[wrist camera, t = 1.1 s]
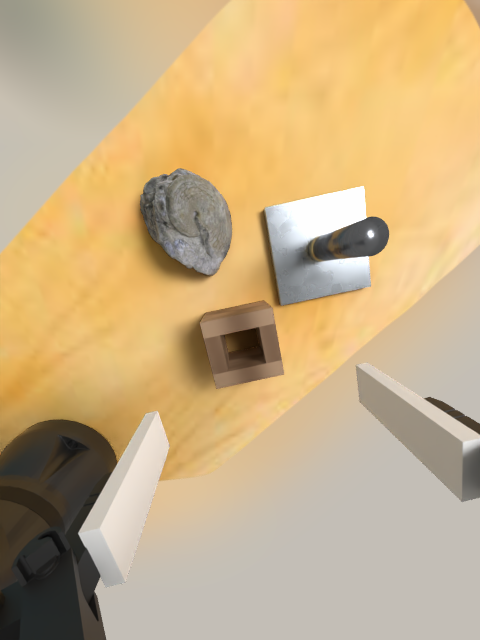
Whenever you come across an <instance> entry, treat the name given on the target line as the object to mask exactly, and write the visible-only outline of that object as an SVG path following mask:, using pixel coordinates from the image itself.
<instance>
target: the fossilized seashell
mask: <svg viewBox="0 0 480 640" xmlns="http://www.w3.org/2000/svg"><path fill="white" fill-rule="evenodd" d="M140 206H141V209H140V210H141V212H142V214H143V217H144V220H145V223H146V225H147V228H148V232H149V234H150V235H151V237H152V238H153V240H155V242H157V243H158V244H160V245H161V246H162V248H163V249H164V250H165V252H166V253H167V254H168V255H169V256H170V257H171V258H172V259H176V260H178V261H179V262H180V263H182V264H183V265H185V266H186V267H187V268H192V267H193V268H194V269H195V270H196V272H199V273H203V274H204V275H211V276H212V275H214V274H215V273H216V272H217V271H218V270H219V267H220V264H221V262H222V261H223V260H224V258H225V257H226V255H227V252H228V250H229V247H230V242H231V237H232V223H231V215H230V211H229V210H228V206H227V203H226V201H225V199H224V198H223V196H222V195H221V194H220V193H219V191H218V190H217V189H216V188H215V187H214V186H213V185H212V184H211V183H210V182H209V181H207V180H205V179H203V178H201V177H200V176H198V175H196V174H194V173H192V172H190V171H187V170H184V169H177V170H176V171H174V172H173V173H171V174H170V175H166V174H163V175H160V176H159V177H153V178H152V179H150V181H149V182H147V183H146V184H145V186H144V190H143V194H142V195H141V200H140Z"/></svg>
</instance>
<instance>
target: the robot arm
mask: <svg viewBox="0 0 480 640" xmlns="http://www.w3.org/2000/svg"><path fill="white" fill-rule="evenodd" d="M356 372H357V381H358V391H359V400H360V403H361V404H363V406H364V407H365V408H367V410H369V411H370V412H371V413H372V414H373V415H374V416H375V417H376V418H377V419H378V420H379V421H380V422H381V423H382V424H383V425H384V426H385V427H386V428H387V429H388V430H389V431H390V432H391V433H392V434H393V435H394V436H395V437H396V438H397V439H398V440H399V441H400V442H401V443H402V444H403V445H404V446H405V447H406V448H407V449H409V450H410V452H412V453H413V454H414V455H415V456H416V457H417V458H418V459H419V460H420V461H421V462H422V463H423V464H424V465H425V466H426V467H427V468H428V469H429V470H430V471H431V472H432V473H433V474H434V475H435V476H436V477H437V478H438V479H439V480H440V481H441V482H442V483H443V484H444V485H445V486H446V487H447V488H448V489H450V491H451V492H452V493H454V494H455V495H456V496H457V497H458V498H459V499H460V500H461V501H462V502H463V501H467V500H472V499H476V498H480V424H479V423H477V422H476V421H474V420H472V419H471V418H469V417H467V416H465V415H464V414H462V413H461V412H459V411H457V410H455V409H454V408H452V407H451V406H449V405H447V404H446V403H444V402H442V401H439V400H436V399H434V398H431V397H428V398H422V397H420V396H419V395H417V394H416V393H414V392H412V391H411V390H409V389H408V388H406V387H405V386H403V385H402V384H400V383H398V382H397V381H395V380H394V379H392V378H391V377H389V376H387V375H386V374H385V373H383V372H381V371H380V370H378V369H377V368H375V367H374V366H372V365H370V364H369V363H362V364H358V365H356ZM169 447H170V445H169V442H168V439H167V436H166V434H165V431H164V428H163V425H162V422H161V419H160V416H159V413H158V411H154V412H150V413H146V414H145V416H144V418H143V419H142V421H141V423H140V425H139V427H138V428H137V430H136V432H135V434H134V435H133V437H132V439H131V441H130V442H129V444H128V446H127V448H126V449H125V451H124V453H123V455H122V457H121V458H120V460H119V462H118V464H117V460H116V456H115V453H114V451H113V449H112V447H111V446H110V444H109V443H108V442H107V440H106V439H105V438H104V437H103V436H102V435H100V434H99V433H98V432H96V431H95V430H93V429H92V428H90V427H88V426H86V425H83V424H81V423H77V422H74V421H68V420H49V421H44V422H40V423H37V424H35V425H33V426H31V427H29V428H28V429H26V430H25V431H24V432H23V433H21V434H20V435H19V436H17V437H16V438H15V439H14V440H12V441H11V442H10V443H9V444H8V445H7V446H6V448H5V449H4V450H3V451H2V453H1V455H0V640H106V636H105V631H104V627H103V622H102V617H101V613H100V608H99V604H98V598H97V595H96V593H95V592H94V590H95V588H96V585H97V583H98V581H99V578H100V577H101V579H102V581H103V583H104V585H105V587H109V586H113V585H117V584H122V583H125V582H126V580H127V577H128V574H129V571H130V568H131V565H132V562H133V558H134V555H135V552H136V549H137V546H138V543H139V540H140V537H141V534H142V530H143V528H144V524H145V521H146V518H147V515H148V512H149V509H150V506H151V503H152V500H153V497H154V494H155V490H156V487H157V484H158V481H159V478H160V475H161V472H162V469H163V466H164V463H165V460H166V456H167V453H168V450H169Z"/></svg>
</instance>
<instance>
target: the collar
mask: <svg viewBox="0 0 480 640" xmlns="http://www.w3.org/2000/svg"><path fill="white" fill-rule="evenodd" d="M200 326H201V330H202V334H203V338H204V342H205V346H206V350H207V354H208V357H209V361H210V365H211V369H212V373H213V377H214V381H215V385H216V389H219V388H223V387H228V386H233V385H237V384H242V383H246V382H251V381H256V380H260V379H265V378H270V377H274V376H279V375H284V370H283V365H282V359H281V353H280V348H279V342H278V337H277V331H276V325H275V320H274V314H273V308H272V307H271V306H270V305H269V304H268V303H266V302H265V301H264V300H263V301H258V302H254V303H249V304H244V305H240V306H235V307H230V308H226V309H221V310H216V311H212V312H207V313H205V315H204V316H203V318H202V320H201V322H200ZM252 328H256V332H257V337H258V342H259V346H257V347H252V348H248V349H243V350H238V351H234V352H228V348H227V344H226V339H225V335H224V334H228V333H233V332H238V331H242V330H247V329H252Z"/></svg>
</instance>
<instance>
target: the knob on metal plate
mask: <svg viewBox="0 0 480 640" xmlns="http://www.w3.org/2000/svg"><path fill="white" fill-rule="evenodd" d="M264 215H265V221H266V227H267V233H268V239H269V245H270V251H271V257H272V263H273V269H274V274H275V280H276V286H277V292H278V298H279V304H280V305H281V306H282V305H286V304H291V303H296V302H300V301H305V300H310V299H314V298H319V297H324V296H328V295H333V294H337V293H342V292H347V291H351V290H356V289H361V288H365V287H370V286H371V281H370V267H369V256H373V255H376V254H378V253H379V252H381V251H382V250H383V249H384V247H385V246H386V244H387V242H388V239H389V230H388V226H387V224H386V223H385V222H384V221H383V220H382V219H380V218H378V217H368V218H366V212H365V198H364V187H359V188H355V189H350V190H345V191H340V192H336V193H331V194H326V195H322V196H317V197H312V198H308V199H303V200H298V201H294V202H289V203H284V204H280V205H275V206H270V207H266V208H264Z"/></svg>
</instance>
